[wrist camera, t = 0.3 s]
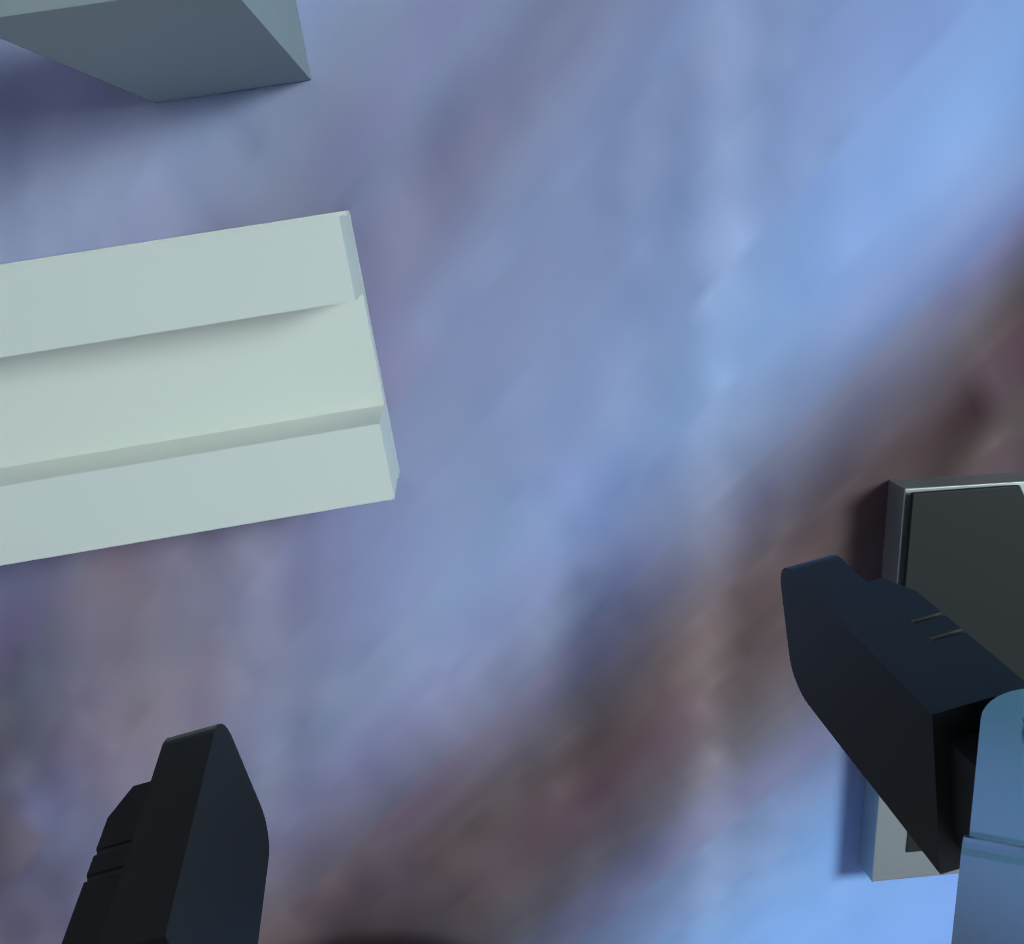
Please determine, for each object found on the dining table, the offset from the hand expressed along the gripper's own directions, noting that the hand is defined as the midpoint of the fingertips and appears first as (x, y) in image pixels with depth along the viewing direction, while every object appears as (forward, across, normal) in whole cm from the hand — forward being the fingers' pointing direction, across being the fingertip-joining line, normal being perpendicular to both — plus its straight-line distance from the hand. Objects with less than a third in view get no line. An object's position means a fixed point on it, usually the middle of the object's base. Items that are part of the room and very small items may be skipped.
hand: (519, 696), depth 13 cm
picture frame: (+24, -25, +24) cm, 42 cm away
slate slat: (+29, +4, -12) cm, 31 cm away
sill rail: (+28, +11, 0) cm, 30 cm away
